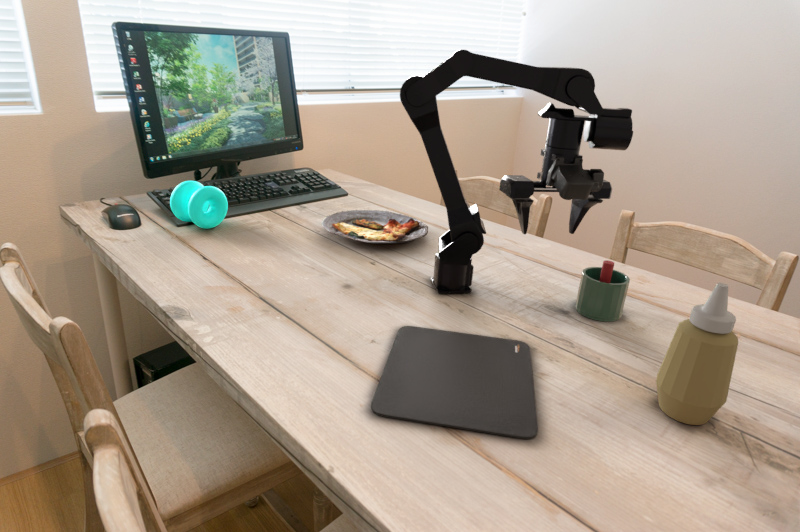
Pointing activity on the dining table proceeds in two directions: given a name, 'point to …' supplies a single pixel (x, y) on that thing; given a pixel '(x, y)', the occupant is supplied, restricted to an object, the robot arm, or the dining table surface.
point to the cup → (601, 295)
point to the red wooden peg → (606, 271)
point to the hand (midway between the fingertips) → (547, 233)
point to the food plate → (375, 226)
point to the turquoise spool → (199, 204)
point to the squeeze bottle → (699, 362)
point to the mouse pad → (459, 382)
